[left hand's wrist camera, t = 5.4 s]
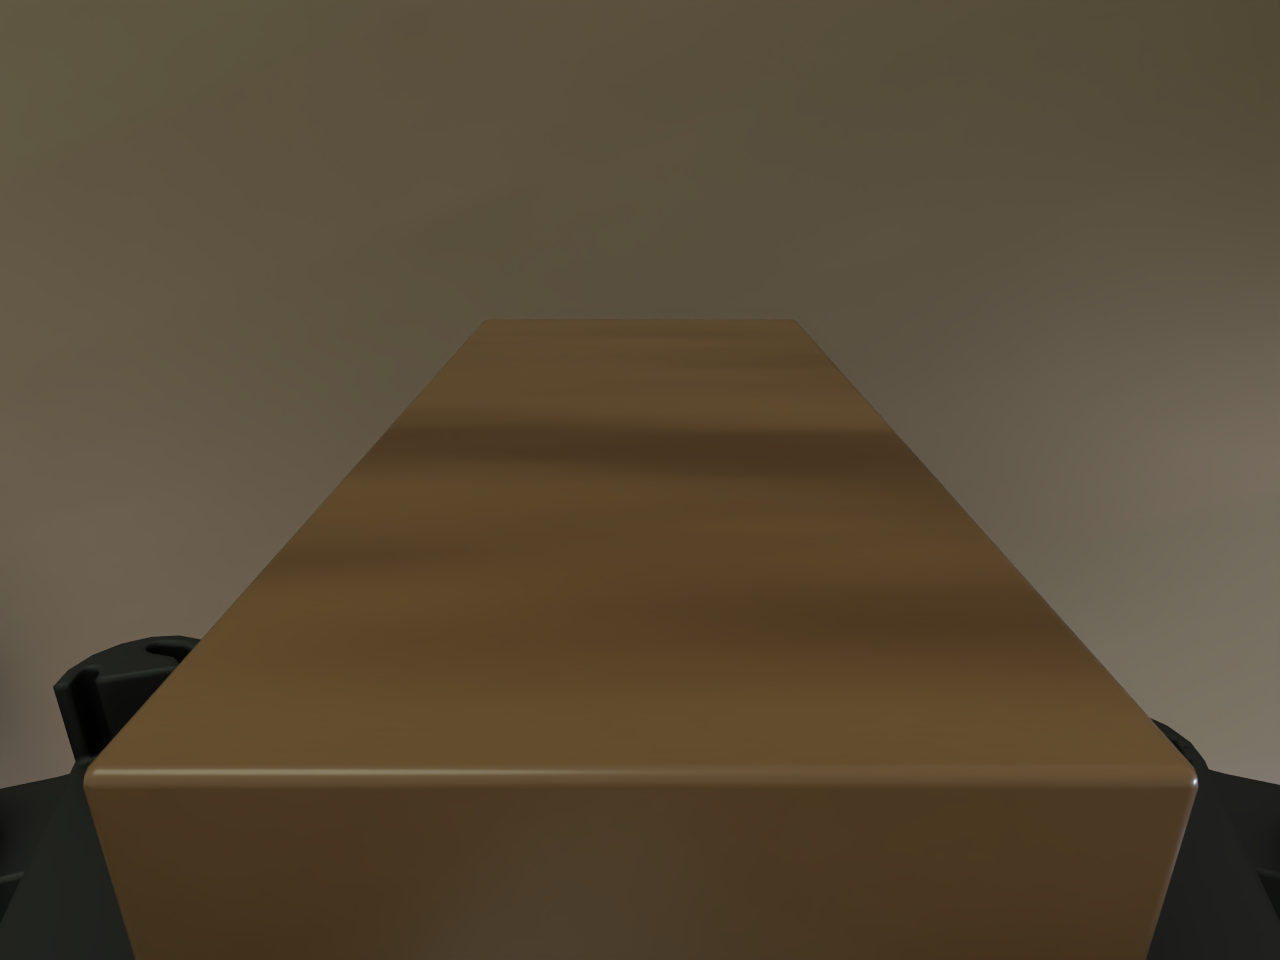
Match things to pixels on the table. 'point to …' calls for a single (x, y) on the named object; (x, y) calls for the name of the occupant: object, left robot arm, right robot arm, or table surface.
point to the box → (640, 694)
